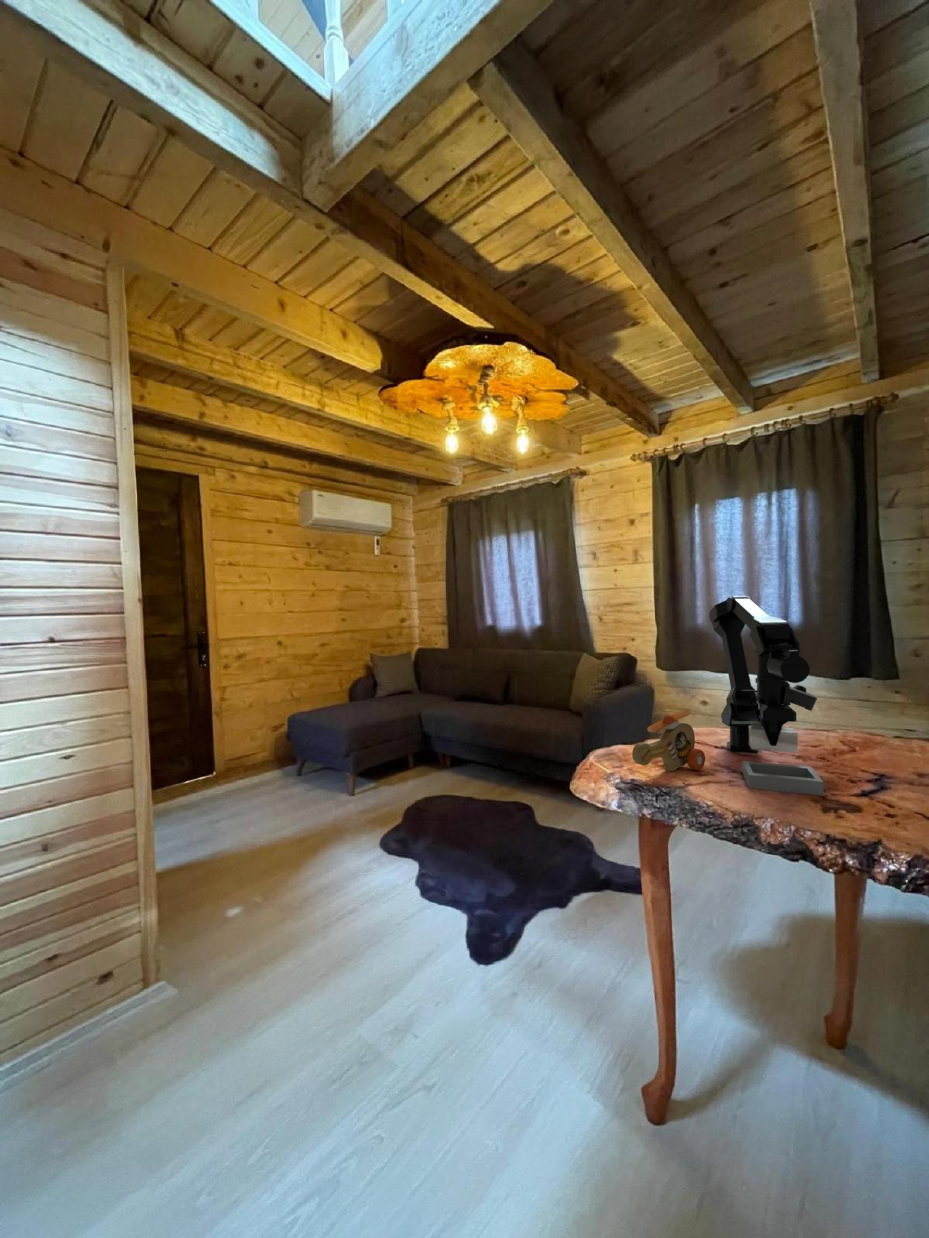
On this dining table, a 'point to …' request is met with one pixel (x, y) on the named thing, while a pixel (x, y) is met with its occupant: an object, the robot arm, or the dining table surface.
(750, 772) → the cradle
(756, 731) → the white block with tab
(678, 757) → the toy helicopter
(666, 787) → the dining table surface
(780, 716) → the robot arm
